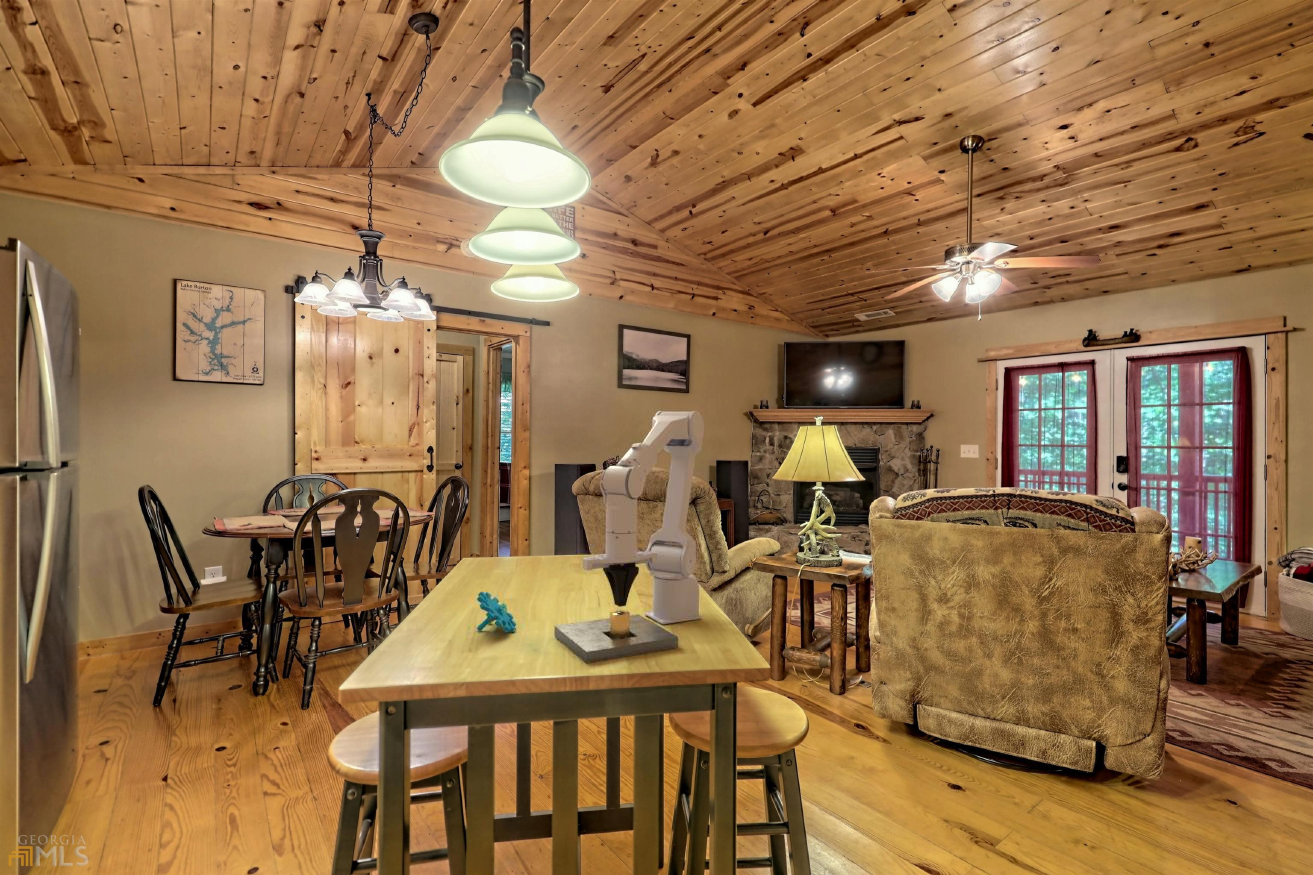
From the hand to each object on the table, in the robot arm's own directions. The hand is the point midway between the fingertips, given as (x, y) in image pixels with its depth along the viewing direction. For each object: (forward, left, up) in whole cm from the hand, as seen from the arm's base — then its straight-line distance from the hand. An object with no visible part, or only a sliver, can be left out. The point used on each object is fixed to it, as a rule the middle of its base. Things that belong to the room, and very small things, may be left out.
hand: (620, 604), depth 117 cm
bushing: (0, 0, -7) cm, 7 cm away
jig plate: (0, -2, -7) cm, 8 cm away
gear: (+18, -18, -8) cm, 27 cm away
